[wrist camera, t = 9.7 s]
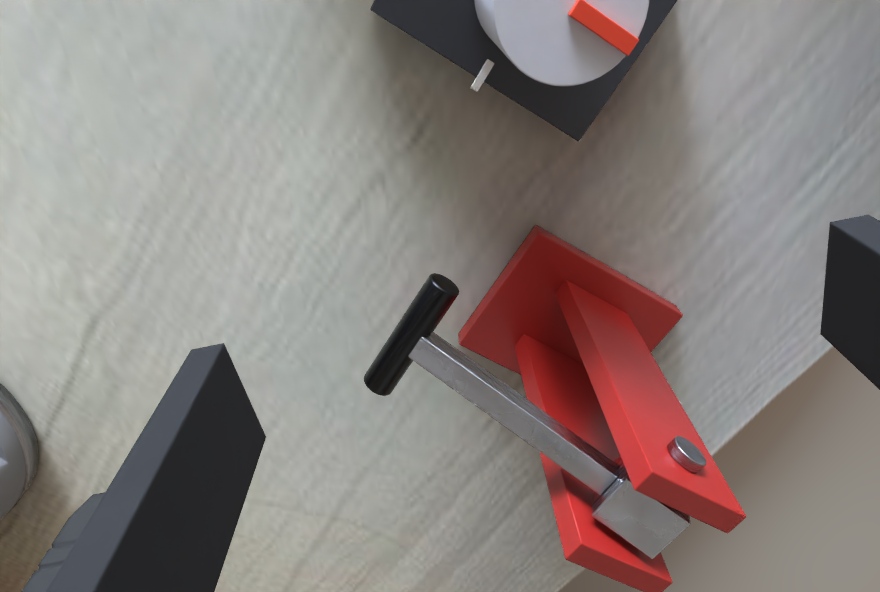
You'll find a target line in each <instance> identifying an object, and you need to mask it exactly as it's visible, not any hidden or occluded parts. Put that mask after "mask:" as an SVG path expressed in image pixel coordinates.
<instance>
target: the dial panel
mask: <svg viewBox="0 0 880 592" xmlns="http://www.w3.org/2000/svg"><path fill="white" fill-rule="evenodd" d="M676 1H677V0H649V7H648V12H647V16H646V20H645V23H644V26H643V28H642V31H641V33H640V35H639V37H638V39H639V41H638V43H637V44H636V46H635V47H634V49H633V50H632V52H631V53H630V55H629V56H627V55H626V56H625V57H624V58H623V59H622V60H621V61H620V62H619V63H618V64H617V65H616V66H615V67H614V68H613V69H611V70H610V71H609V72H607V73H605V74H604V75H602V76H601V77H599V78H597V79H594V80H592V81H590V82H587V83H584V84H580V85H574V86H553V85H548V84H544V83H541V82H538V81H536V80H534V79H532V78H530V77H528V76H527V75H525V74H524V73H523V72H521V71H520V70H519V69H518V68H517V67H516V66H515V65H514V64H513V63H512V62H511V61H510V60H509V59H508V58H507V57H506V55H505V54H504V53H503V52H502V51H501V50H500V49H499V48H498V46H497V45H496V44H495V43H494V42H493V41H492V40H491V39H490V38H489V36H488V35H487V34H486V32H485V31H484V29H483V28H482V26H481V24H480V22H479V19H478V17H477V13H476V9H475V2H474V0H375V1H374V3H373V5H372V7H371V11H373V12H374V13H376V14H377V15H379V16H381V17H382V18H384V19H385V20H387V21H389V22H390V23H392V24H393V25H395V26H396V27H398V28H400V29H401V30H403V31H404V32H406V33H408V34H409V35H411V36H412V37H414V38H415V39H417V40H419V41H420V42H422V43H423V44H425V45H426V46H428V47H430V48H431V49H433V50H434V51H436V52H438V53H439V54H441V55H442V56H444V57H445V58H447V59H449V60H450V61H452V62H453V63H455V64H457V65H458V66H460V67H461V68H463V69H464V70H466V71H468V72H469V73H471V74H472V75H474V76H476V79H475V81H474V82H473V84H472V86H471V88H472V89H473V90H475V91H476V92H478V90H479V89H480V87H481V85H482V84H483V82H485V83H487V84H488V85H490V86H491V87H493V88H494V89H496V90H498V91H499V92H501V93H502V94H504V95H506V96H507V97H509V98H510V99H512V100H513V101H515V102H517V103H518V104H520V105H521V106H523V107H525V108H526V109H528V110H529V111H531V112H532V113H534V114H536V115H537V116H539V117H540V118H542V119H544V120H545V121H547V122H548V123H550V124H551V125H553V126H555V127H556V128H558V129H559V130H561V131H562V132H564V133H566V134H567V135H569V136H570V137H572V138H574V139H575V140H577V141H580V139H581V138H582V136H583V135H584V133H585V132H586V131H587V129H588V128H589V126H590V125H591V123H592V122H593V121H594V119H595V118H596V116H597V115H598V113H599V112H600V110H601V109H602V108H603V106H604V105H605V103H606V102H607V100H608V99H609V98H610V96H611V95H612V93H613V92H614V90H615V89H616V88H617V86H618V85H619V83H620V82H621V80H622V79H623V77H624V76H625V75H626V73H627V72H628V70H629V69H630V67H631V66H632V65H633V63H634V62H635V60H636V59H637V57H638V56H639V54H640V53H641V52H642V50H643V49H644V47H645V46H646V44H647V43H648V42H649V40H650V39H651V37H652V36H653V34H654V33H655V32H656V30H657V29H658V27H659V26H660V24H661V23H662V21H663V20H664V19H665V17H666V16H667V14H668V13H669V11H670V10H671V9H672V7H673V6H674V4H675V3H676Z"/></svg>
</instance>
